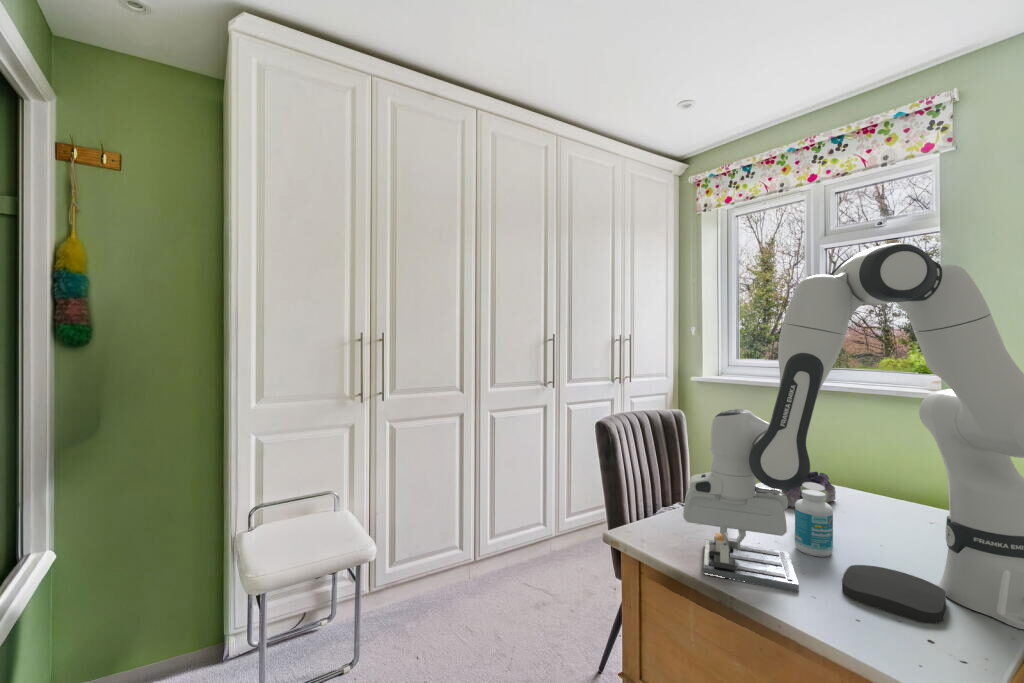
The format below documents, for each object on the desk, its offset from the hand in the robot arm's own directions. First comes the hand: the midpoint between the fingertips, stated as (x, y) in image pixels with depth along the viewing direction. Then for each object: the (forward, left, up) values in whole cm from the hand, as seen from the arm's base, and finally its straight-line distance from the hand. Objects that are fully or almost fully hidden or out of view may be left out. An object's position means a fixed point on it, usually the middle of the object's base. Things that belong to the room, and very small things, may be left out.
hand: (732, 548), depth 101 cm
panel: (-3, 0, -4) cm, 4 cm away
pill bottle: (-17, -15, -4) cm, 23 cm away
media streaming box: (-27, +2, -4) cm, 28 cm away
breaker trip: (+3, 0, -2) cm, 3 cm away
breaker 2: (+2, +5, -2) cm, 6 cm away
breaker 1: (+2, -5, -2) cm, 6 cm away
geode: (-22, -54, -4) cm, 58 cm away
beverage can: (-19, -29, -4) cm, 35 cm away
